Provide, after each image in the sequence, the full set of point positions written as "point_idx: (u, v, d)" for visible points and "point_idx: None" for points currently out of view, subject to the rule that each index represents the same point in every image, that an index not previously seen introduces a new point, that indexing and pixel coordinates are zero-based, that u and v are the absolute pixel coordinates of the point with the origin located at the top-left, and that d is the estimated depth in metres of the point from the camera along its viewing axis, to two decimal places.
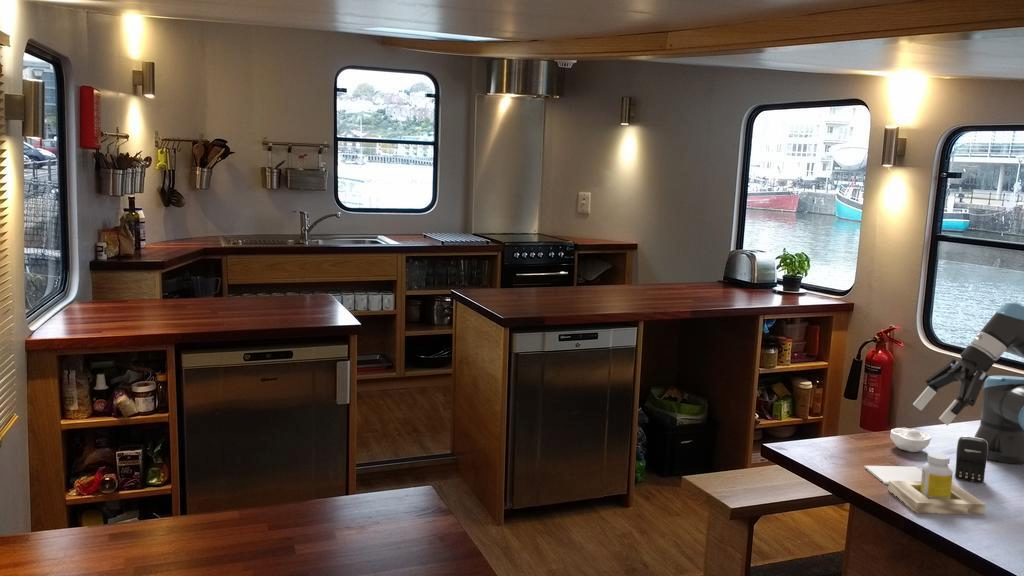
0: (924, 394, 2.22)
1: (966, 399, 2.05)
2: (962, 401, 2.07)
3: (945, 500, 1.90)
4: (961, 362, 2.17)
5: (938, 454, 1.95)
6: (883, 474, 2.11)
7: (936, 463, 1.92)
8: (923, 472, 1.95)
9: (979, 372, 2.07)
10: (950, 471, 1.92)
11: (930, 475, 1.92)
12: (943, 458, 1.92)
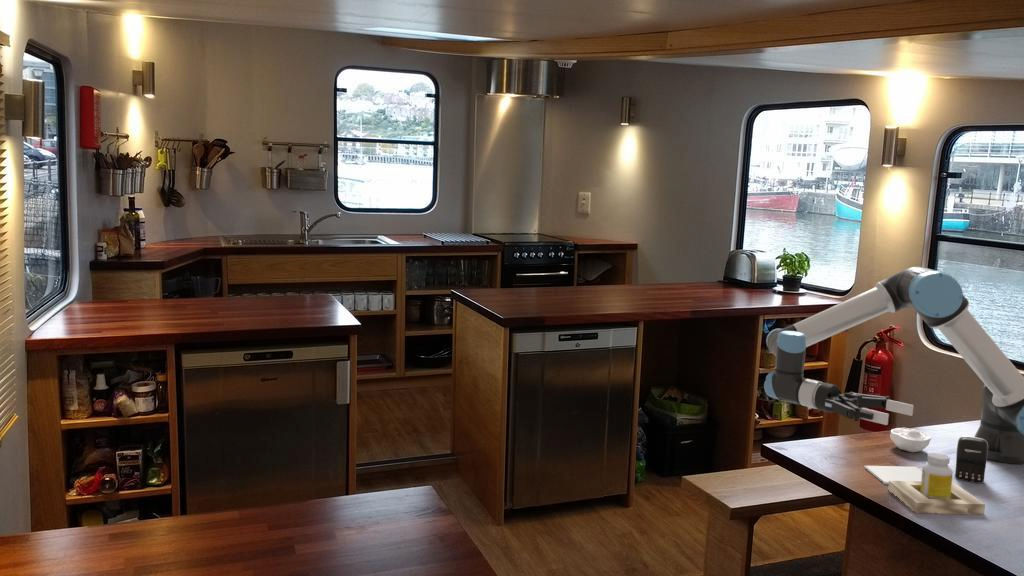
0: (895, 410, 2.07)
1: (850, 418, 2.00)
2: (856, 416, 2.00)
3: (945, 500, 1.90)
4: None
5: (938, 454, 1.95)
6: (883, 474, 2.11)
7: (936, 463, 1.92)
8: (923, 472, 1.95)
9: (827, 409, 2.08)
10: (950, 471, 1.92)
11: (930, 475, 1.92)
12: (943, 458, 1.92)
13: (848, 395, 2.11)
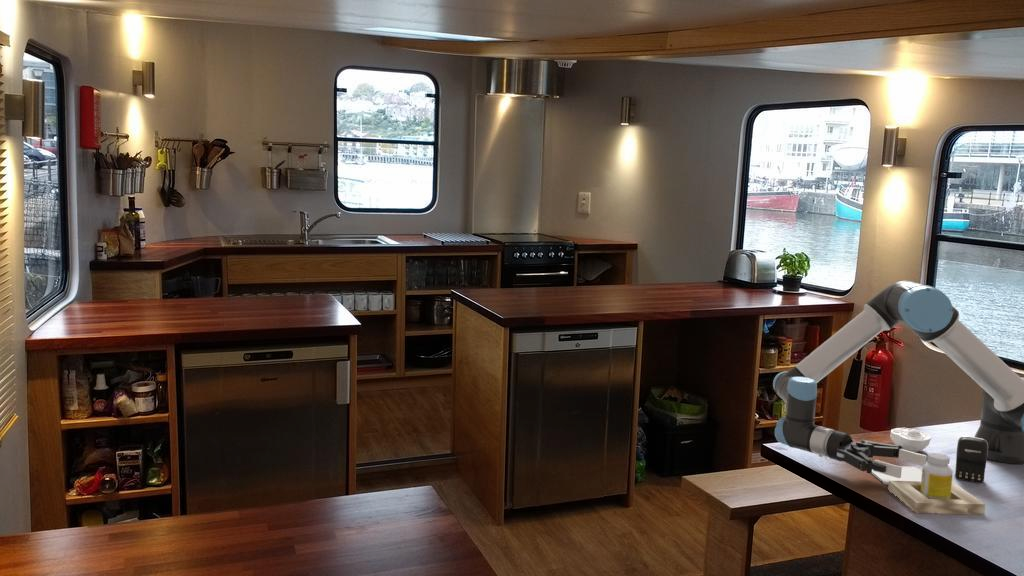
0: (908, 460, 2.05)
1: (862, 470, 1.98)
2: (868, 468, 1.98)
3: (945, 500, 1.90)
4: None
5: (938, 454, 1.95)
6: (883, 474, 2.11)
7: (936, 463, 1.92)
8: (923, 472, 1.95)
9: (839, 459, 2.06)
10: (950, 471, 1.92)
11: (930, 475, 1.92)
12: (943, 458, 1.92)
13: (860, 444, 2.09)
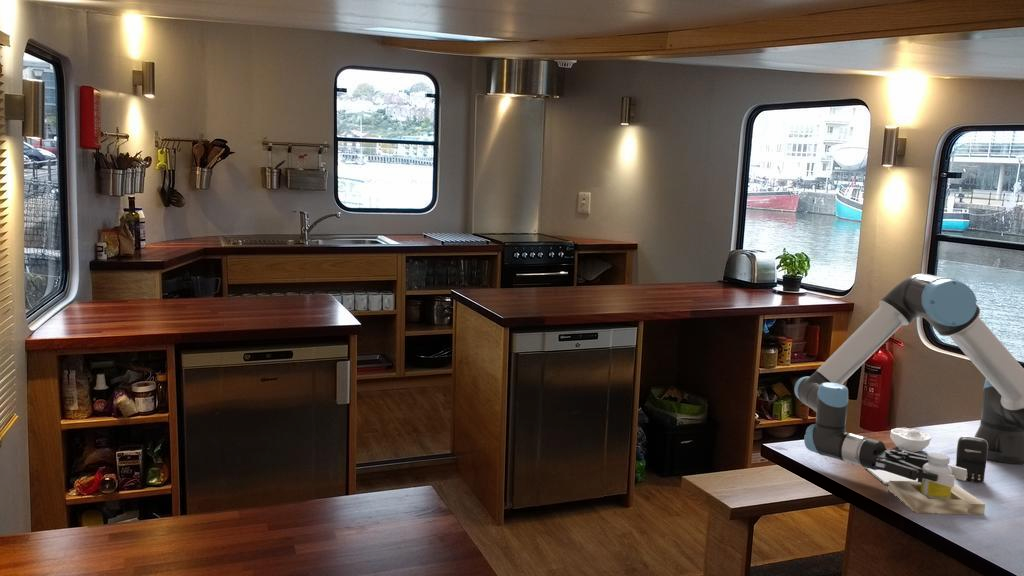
0: None
1: (913, 479, 1.92)
2: (919, 477, 1.92)
3: (945, 500, 1.90)
4: None
5: (938, 454, 1.95)
6: (883, 474, 2.11)
7: (936, 463, 1.92)
8: None
9: None
10: (950, 471, 1.92)
11: None
12: (943, 458, 1.92)
13: (893, 452, 2.03)
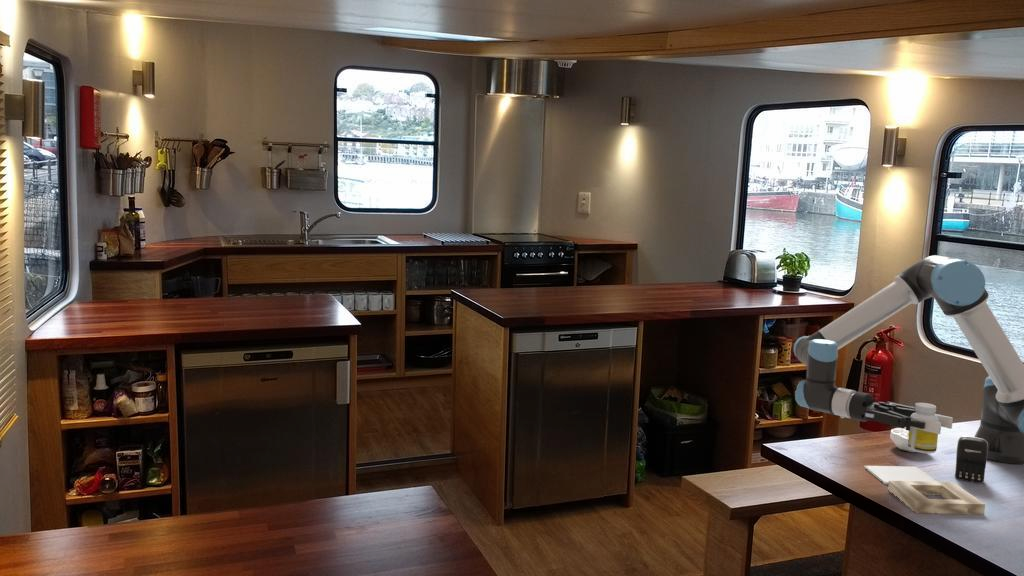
0: None
1: (902, 427, 1.98)
2: (907, 425, 1.99)
3: (945, 500, 1.90)
4: None
5: (925, 403, 2.01)
6: (883, 474, 2.11)
7: (923, 412, 1.99)
8: None
9: (868, 419, 2.05)
10: (937, 419, 1.98)
11: None
12: (930, 407, 1.98)
13: (882, 404, 2.09)
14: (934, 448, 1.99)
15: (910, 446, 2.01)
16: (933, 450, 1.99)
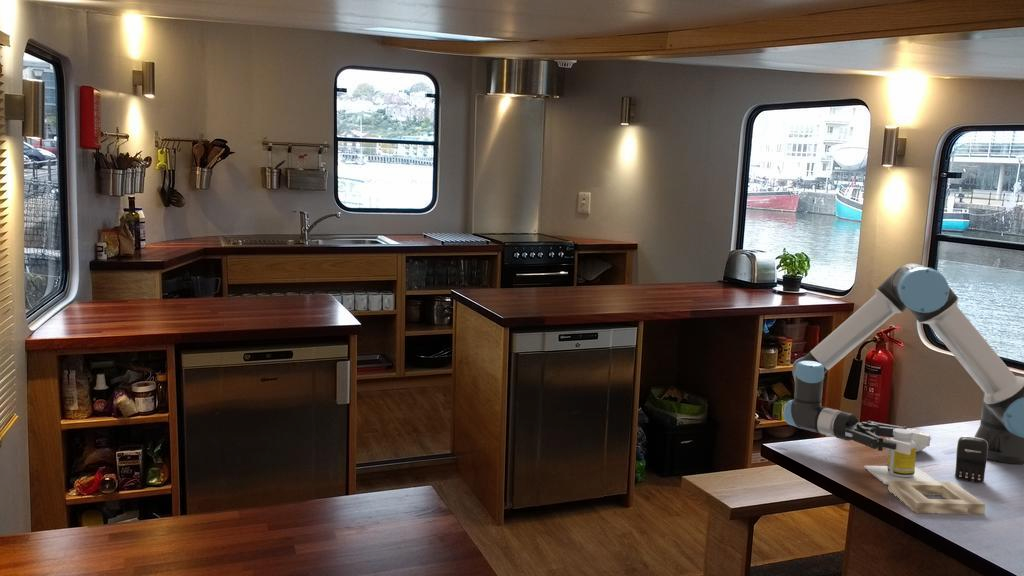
0: None
1: (874, 448, 2.08)
2: (879, 446, 2.08)
3: (945, 500, 1.90)
4: None
5: (902, 429, 2.12)
6: (883, 474, 2.11)
7: (900, 438, 2.09)
8: None
9: (847, 438, 2.16)
10: (913, 444, 2.09)
11: None
12: (906, 433, 2.09)
13: (865, 424, 2.19)
14: (911, 472, 2.09)
15: (889, 470, 2.12)
16: (911, 474, 2.09)
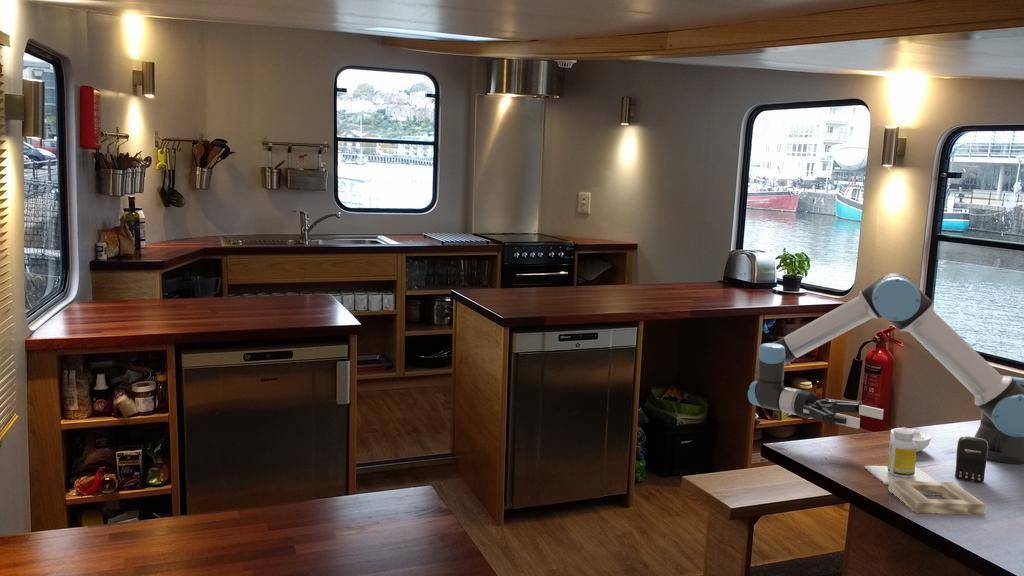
0: (867, 415, 2.26)
1: (825, 423, 2.19)
2: (831, 421, 2.19)
3: (945, 500, 1.90)
4: None
5: (903, 430, 2.12)
6: (883, 474, 2.11)
7: (901, 438, 2.09)
8: (890, 446, 2.11)
9: (805, 414, 2.27)
10: (914, 445, 2.09)
11: (896, 449, 2.09)
12: (907, 433, 2.09)
13: (824, 401, 2.30)
14: (912, 472, 2.09)
15: (889, 470, 2.12)
16: (911, 474, 2.09)
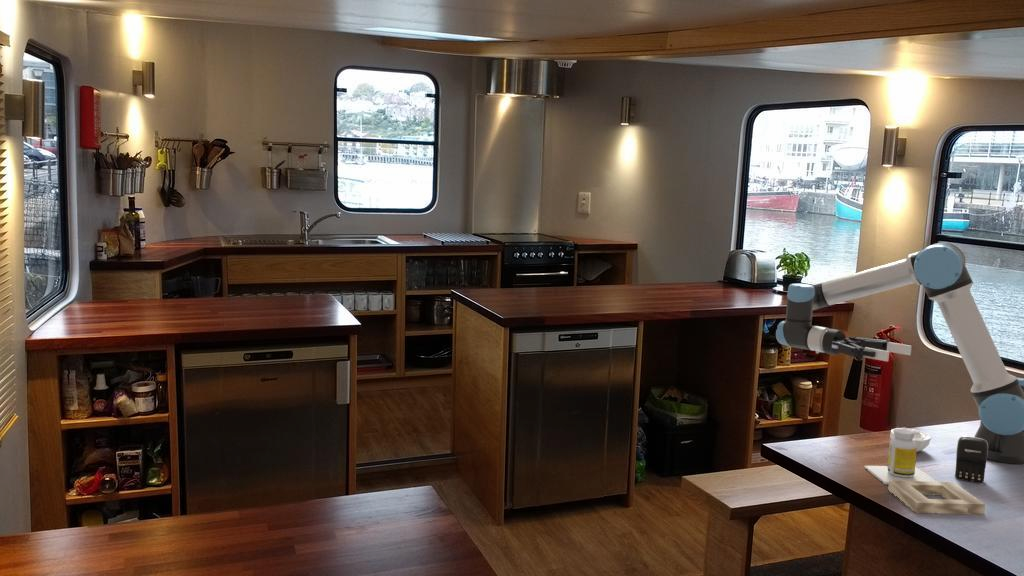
0: (895, 351, 2.30)
1: (854, 356, 2.22)
2: (860, 355, 2.22)
3: (945, 500, 1.90)
4: None
5: (904, 430, 2.12)
6: (883, 474, 2.11)
7: (901, 438, 2.09)
8: (890, 446, 2.11)
9: (833, 350, 2.30)
10: (914, 445, 2.09)
11: (896, 449, 2.09)
12: (908, 433, 2.09)
13: (852, 338, 2.34)
14: (912, 472, 2.09)
15: (889, 470, 2.11)
16: (911, 474, 2.09)
